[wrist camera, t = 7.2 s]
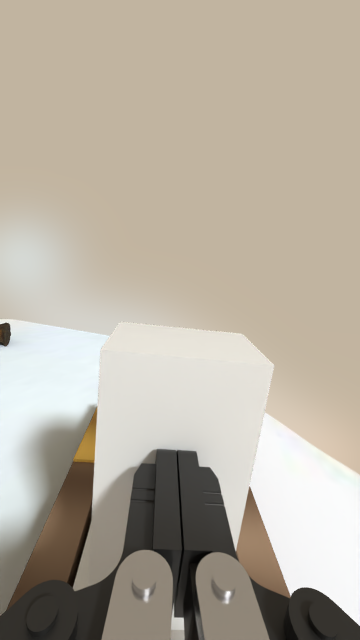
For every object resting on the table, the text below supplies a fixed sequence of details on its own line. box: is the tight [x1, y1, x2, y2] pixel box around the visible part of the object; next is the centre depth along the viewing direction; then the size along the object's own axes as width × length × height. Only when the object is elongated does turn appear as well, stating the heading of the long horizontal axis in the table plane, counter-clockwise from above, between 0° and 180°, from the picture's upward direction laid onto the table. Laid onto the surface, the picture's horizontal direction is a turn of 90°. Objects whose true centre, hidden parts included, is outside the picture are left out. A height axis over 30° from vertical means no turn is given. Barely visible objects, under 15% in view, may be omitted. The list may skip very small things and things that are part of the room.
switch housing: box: [6, 406, 290, 611], centre depth 17 cm, size 24×12×4 cm, turn 3°
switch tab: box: [73, 322, 274, 640], centre depth 13 cm, size 6×7×13 cm
